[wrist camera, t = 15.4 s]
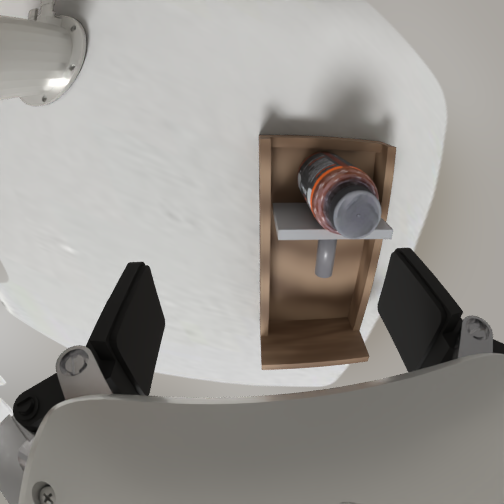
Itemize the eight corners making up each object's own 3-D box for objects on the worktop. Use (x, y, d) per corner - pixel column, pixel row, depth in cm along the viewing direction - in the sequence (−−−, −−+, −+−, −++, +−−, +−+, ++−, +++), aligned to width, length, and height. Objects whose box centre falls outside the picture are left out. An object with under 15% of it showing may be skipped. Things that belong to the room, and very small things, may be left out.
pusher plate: (272, 202, 31) (278, 229, 25) (367, 204, 31) (393, 229, 25) (271, 258, 34) (276, 294, 28) (359, 256, 34) (379, 289, 28)
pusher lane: (258, 134, 28) (262, 146, 20) (380, 141, 28) (421, 157, 20) (259, 321, 41) (261, 369, 33) (350, 317, 41) (367, 361, 33)
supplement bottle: (286, 189, 30) (304, 234, 20) (310, 141, 28) (343, 161, 18) (333, 210, 31) (368, 261, 22) (356, 165, 29) (405, 198, 19)
